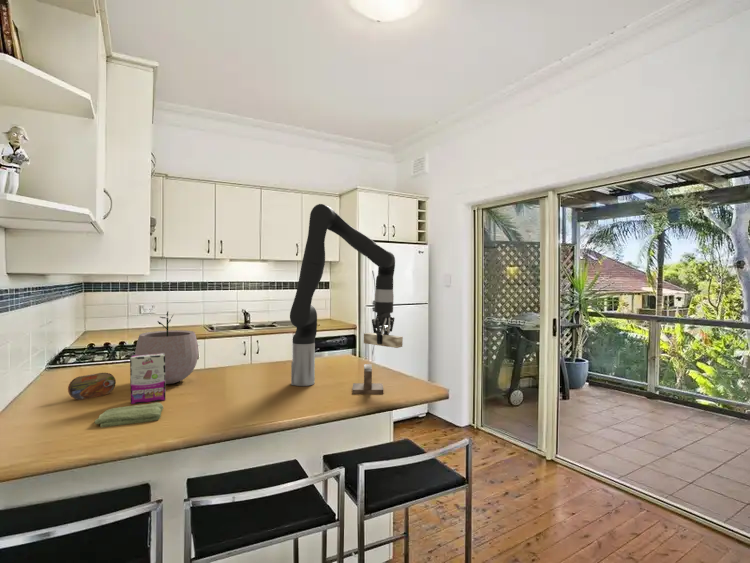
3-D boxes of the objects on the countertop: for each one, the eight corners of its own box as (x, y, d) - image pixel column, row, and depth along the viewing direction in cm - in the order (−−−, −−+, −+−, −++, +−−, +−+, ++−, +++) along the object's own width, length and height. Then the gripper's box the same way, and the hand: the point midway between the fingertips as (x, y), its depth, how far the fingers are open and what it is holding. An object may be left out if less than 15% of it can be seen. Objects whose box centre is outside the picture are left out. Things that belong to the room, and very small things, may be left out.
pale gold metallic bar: (402, 346, 170) (402, 336, 170) (397, 348, 167) (397, 337, 166) (369, 342, 179) (369, 332, 179) (363, 343, 175) (363, 333, 175)
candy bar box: (165, 397, 159) (165, 352, 159) (165, 400, 155) (165, 355, 154) (130, 400, 154) (130, 355, 154) (129, 404, 149) (130, 357, 149)
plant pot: (127, 382, 181) (127, 310, 180) (186, 373, 197) (186, 308, 197) (145, 393, 163) (145, 314, 163) (207, 383, 180) (207, 311, 180)
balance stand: (352, 393, 166) (352, 369, 166) (353, 386, 176) (353, 363, 176) (383, 393, 166) (383, 369, 166) (382, 387, 176) (382, 363, 176)
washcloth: (102, 416, 138) (102, 406, 138) (163, 410, 145) (163, 400, 145) (93, 429, 126) (93, 419, 126) (160, 422, 133) (160, 412, 133)
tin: (70, 402, 152) (70, 378, 152) (66, 400, 154) (66, 377, 154) (116, 393, 164) (116, 371, 164) (112, 391, 166) (112, 370, 166)
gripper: (382, 302, 164) (381, 346, 165) (400, 300, 176) (399, 342, 177) (366, 300, 168) (365, 344, 169) (385, 299, 180) (384, 340, 181)
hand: (382, 343), depth 173 cm, fingers closed on pale gold metallic bar, 4 cm apart
